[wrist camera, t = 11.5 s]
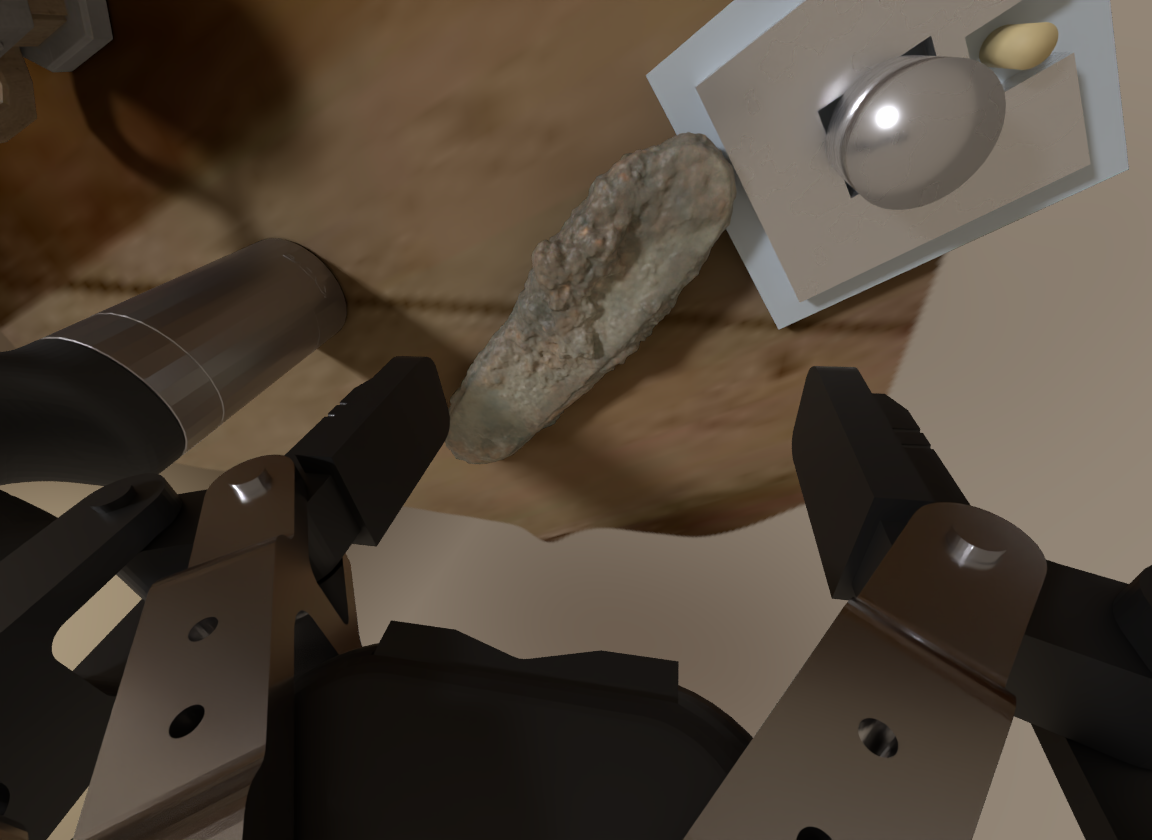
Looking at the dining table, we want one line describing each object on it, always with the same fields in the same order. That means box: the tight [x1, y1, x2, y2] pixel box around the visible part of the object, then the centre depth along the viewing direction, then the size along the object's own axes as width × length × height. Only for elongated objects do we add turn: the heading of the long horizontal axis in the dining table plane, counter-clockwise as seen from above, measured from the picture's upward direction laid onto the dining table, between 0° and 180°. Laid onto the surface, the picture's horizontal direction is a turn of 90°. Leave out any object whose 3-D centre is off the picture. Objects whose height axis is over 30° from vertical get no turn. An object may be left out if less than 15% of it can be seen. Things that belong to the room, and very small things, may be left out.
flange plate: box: [695, 0, 1091, 302], centre depth 22 cm, size 14×14×7 cm
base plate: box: [646, 0, 1129, 329], centre depth 24 cm, size 18×18×4 cm
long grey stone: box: [445, 132, 737, 464], centre depth 37 cm, size 35×5×10 cm
